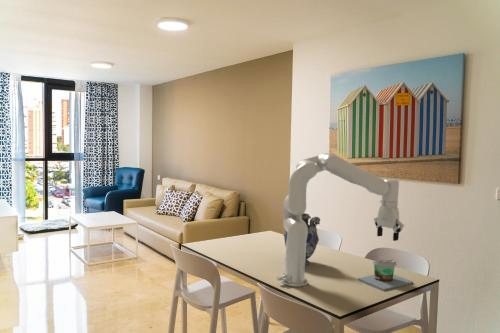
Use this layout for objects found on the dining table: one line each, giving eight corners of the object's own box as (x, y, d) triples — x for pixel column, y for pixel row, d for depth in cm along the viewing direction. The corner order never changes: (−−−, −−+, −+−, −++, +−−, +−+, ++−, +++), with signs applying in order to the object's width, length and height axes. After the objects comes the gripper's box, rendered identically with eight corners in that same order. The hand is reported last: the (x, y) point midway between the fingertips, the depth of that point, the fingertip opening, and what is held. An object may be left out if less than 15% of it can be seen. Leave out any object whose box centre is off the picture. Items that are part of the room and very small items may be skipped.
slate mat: (383, 291, 189) (383, 288, 189) (357, 280, 202) (357, 278, 202) (413, 283, 200) (413, 281, 200) (386, 273, 214) (387, 272, 214)
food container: (379, 283, 196) (380, 263, 195) (372, 279, 202) (373, 259, 201) (400, 281, 200) (401, 261, 199) (392, 277, 206) (393, 258, 205)
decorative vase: (275, 263, 225) (278, 213, 224) (288, 255, 242) (291, 209, 240) (312, 270, 215) (315, 218, 214) (322, 262, 232) (325, 214, 230)
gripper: (370, 201, 204) (368, 235, 205) (399, 207, 190) (397, 243, 191) (380, 201, 208) (378, 233, 209) (409, 206, 193) (407, 241, 195)
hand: (387, 238), depth 200 cm, fingers open, 9 cm apart
